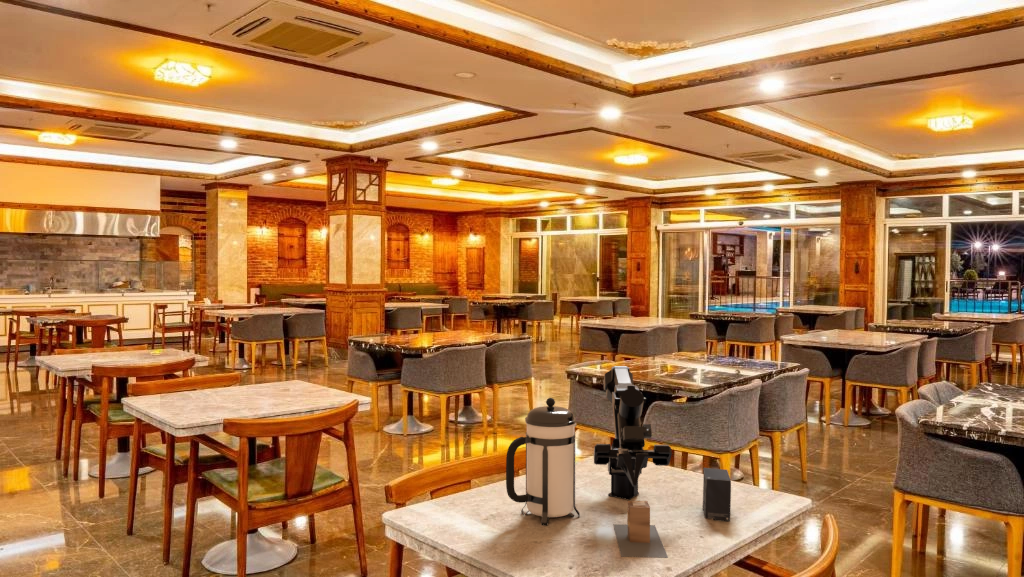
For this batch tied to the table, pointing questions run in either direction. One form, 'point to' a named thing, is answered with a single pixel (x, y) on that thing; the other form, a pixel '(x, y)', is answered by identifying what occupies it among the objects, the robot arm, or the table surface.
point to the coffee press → (546, 462)
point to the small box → (716, 494)
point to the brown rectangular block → (638, 521)
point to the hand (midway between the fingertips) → (634, 485)
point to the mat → (639, 544)
